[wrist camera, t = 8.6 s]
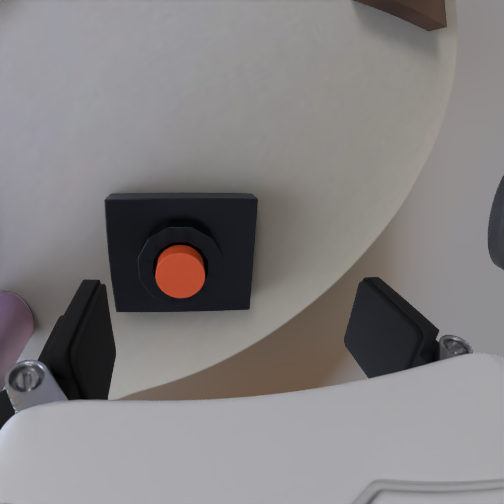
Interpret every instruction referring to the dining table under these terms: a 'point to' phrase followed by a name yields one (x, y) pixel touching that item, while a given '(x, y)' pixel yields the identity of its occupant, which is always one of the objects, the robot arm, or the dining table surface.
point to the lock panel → (414, 11)
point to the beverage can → (13, 330)
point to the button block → (181, 233)
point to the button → (180, 271)
